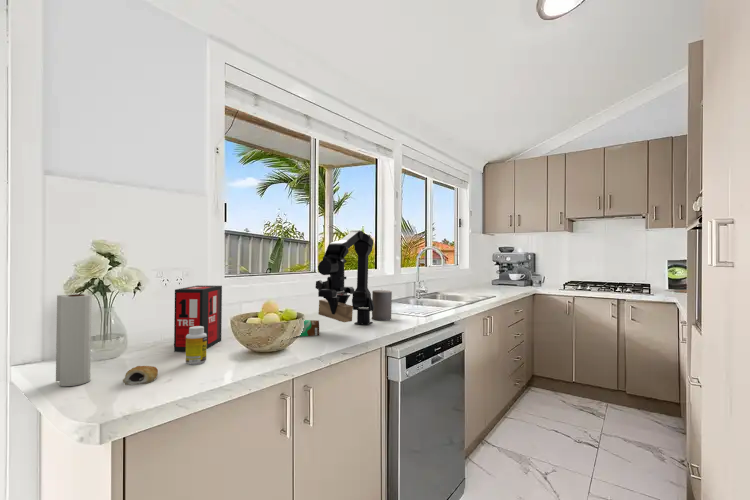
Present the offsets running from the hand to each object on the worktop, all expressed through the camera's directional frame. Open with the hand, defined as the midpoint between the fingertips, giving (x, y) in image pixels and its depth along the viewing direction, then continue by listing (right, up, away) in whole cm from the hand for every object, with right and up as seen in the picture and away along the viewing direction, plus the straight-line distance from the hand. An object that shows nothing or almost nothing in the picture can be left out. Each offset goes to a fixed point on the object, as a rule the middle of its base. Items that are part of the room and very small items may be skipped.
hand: (336, 313), depth 159 cm
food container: (-7, -5, +1) cm, 9 cm away
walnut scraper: (-1, -2, +1) cm, 2 cm away
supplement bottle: (-37, -8, -43) cm, 57 cm away
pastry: (-43, -8, -59) cm, 73 cm away
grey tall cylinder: (-58, -7, -61) cm, 85 cm away
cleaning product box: (-45, -8, -22) cm, 51 cm away
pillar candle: (+19, -9, +37) cm, 43 cm away
